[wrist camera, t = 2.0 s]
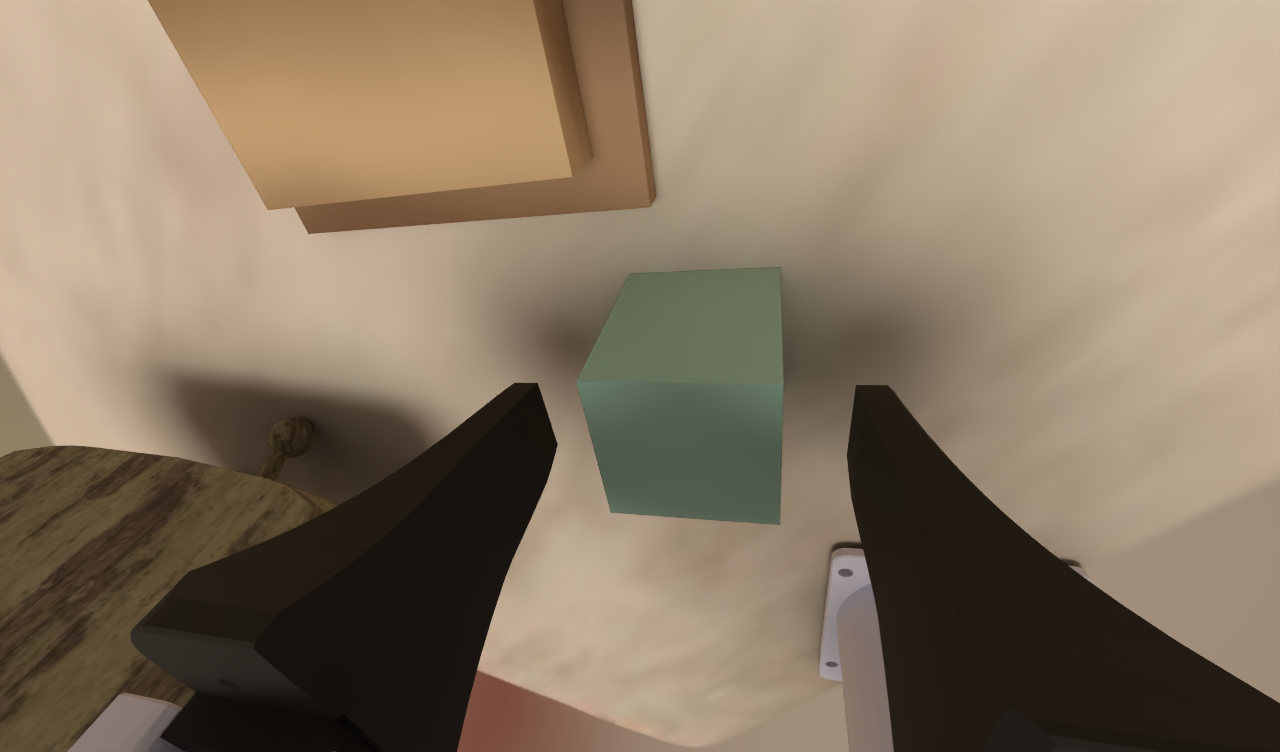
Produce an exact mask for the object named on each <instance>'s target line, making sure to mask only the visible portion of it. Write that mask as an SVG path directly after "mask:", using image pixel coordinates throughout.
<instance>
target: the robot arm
mask: <svg viewBox="0 0 1280 752" xmlns="http://www.w3.org/2000/svg"><path fill="white" fill-rule="evenodd" d="M557 445H558V444H557V441H556V438H555V435H554V432H553V429H552V426H551V423H550V419H549V416H548V413H547V410H546V407H545V404H544V401H543V398H542V395H541V392H540V389H539V386H538V383H514V384H513V385H511V386H510V387H508V388H507V389H506V390H504V391H503V392H502V393H500V394H499V395H498V396H496V397H495V398H494V399H492V400H491V401H490V402H489V403H487V404H486V405H485V406H484V407H482V408H481V409H480V410H479V411H477V412H476V413H475V414H474V415H472V416H471V417H470V418H469V419H467V420H466V421H465V422H463V423H462V424H461V425H460V426H458V427H457V428H456V429H455V430H453V431H452V432H451V433H449V434H448V435H447V436H446V437H444V438H443V439H441V440H440V441H439V442H437V443H436V444H435V445H433V446H432V447H430V448H429V449H428V450H426V451H425V452H424V453H422V454H421V455H419V456H418V457H417V458H415V459H414V460H413V461H411V462H410V463H408V464H407V465H405V466H404V467H402V468H401V469H399V470H398V471H396V472H395V473H393V474H392V475H390V476H388V477H387V478H385V479H384V480H382V481H380V482H379V483H377V484H376V485H374V486H372V487H371V488H369V489H367V490H366V491H364V492H362V493H360V494H359V495H357V496H355V497H353V498H351V499H349V500H348V501H346V502H344V503H342V504H340V505H338V506H336V507H335V508H333V509H331V510H329V511H327V512H325V513H323V514H322V515H320V516H318V517H316V518H314V519H312V520H310V521H308V522H306V523H303V524H301V525H299V526H297V527H295V528H293V529H291V530H289V531H287V532H284V533H282V534H280V535H278V536H276V537H273V538H271V539H269V540H267V541H264V542H262V543H260V544H257V545H255V546H253V547H250V548H248V549H245V550H243V551H240V552H238V553H235V554H233V555H230V556H227V557H225V558H222V559H220V560H217V561H215V562H212V563H210V564H207V565H205V566H202V567H199V568H196V569H194V570H191V571H189V572H188V573H187V574H186V575H185V576H184V577H183V578H182V579H181V580H180V581H179V582H178V583H177V584H176V585H175V586H174V587H173V588H172V589H171V590H170V591H169V592H168V593H167V594H166V595H165V596H164V597H163V598H162V599H161V600H160V601H159V602H158V603H157V604H156V605H155V606H154V607H153V608H152V609H151V610H150V611H149V612H148V613H147V615H146V616H145V617H144V618H143V619H142V620H141V621H140V622H139V623H138V624H137V625H136V626H135V627H134V628H133V629H132V631H131V632H130V638H131V641H132V644H133V645H134V646H135V648H136V649H137V650H138V651H139V652H140V653H141V654H143V655H144V656H145V657H146V658H148V659H149V660H150V661H152V662H153V663H154V664H156V665H157V666H159V667H160V668H162V669H163V670H164V671H166V672H167V673H169V674H170V675H172V676H173V677H175V678H176V679H177V680H179V681H180V682H182V683H183V684H185V685H186V686H188V687H189V688H190V689H192V690H193V691H195V694H194V695H193V696H192V697H191V699H190V700H189V701H188V702H187V704H186V705H185V706H184V707H183V708H182V707H180V706H178V705H175V704H173V703H170V702H167V701H163V700H158V699H154V698H149V697H144V696H139V695H134V694H129V693H124V694H120V695H118V696H117V698H116V699H115V700H114V701H113V702H112V703H111V704H110V705H109V706H108V707H107V709H106V710H105V711H104V712H103V713H102V714H101V715H100V716H99V717H98V718H97V719H96V721H95V722H94V723H93V724H92V725H91V726H90V727H89V728H88V729H87V730H86V732H85V733H84V734H83V735H82V736H81V737H80V738H79V739H78V740H77V741H76V743H75V744H74V745H73V746H72V747H71V748H70V749H69V750H68V751H67V752H457V749H458V744H459V740H460V736H461V732H462V727H463V723H464V719H465V714H466V710H467V706H468V701H469V698H470V694H471V690H472V687H473V683H474V679H475V675H476V671H477V668H478V664H479V660H480V656H481V653H482V650H483V646H484V643H485V640H486V636H487V633H488V630H489V626H490V623H491V620H492V616H493V613H494V610H495V607H496V604H497V601H498V598H499V595H500V592H501V589H502V586H503V583H504V580H505V577H506V574H507V572H508V569H509V567H510V564H511V562H512V559H513V557H514V555H515V553H516V551H517V548H518V546H519V544H520V542H521V539H522V537H523V535H524V533H525V531H526V528H527V526H528V524H529V522H530V519H531V517H532V515H533V513H534V511H535V508H536V506H537V504H538V501H539V499H540V497H541V495H542V492H543V490H544V488H545V485H546V483H547V480H548V477H549V474H550V470H551V467H552V464H553V460H554V456H555V453H556V449H557ZM847 460H848V471H849V481H850V490H851V499H852V503H853V508H854V512H855V516H856V521H857V525H858V530H859V534H860V538H861V543H862V547H863V549H855V548H840V549H837V550H835V551H834V552H833V553H832V555H831V562H830V570H829V578H828V587H827V595H826V603H825V612H824V620H823V628H822V637H821V645H820V653H819V662H818V672H819V675H820V676H821V677H823V678H825V679H829V680H836V681H842V684H843V693H844V703H845V713H846V723H847V732H848V742H849V752H1280V703H1278V702H1277V701H1275V700H1273V699H1272V698H1270V697H1268V696H1267V695H1265V694H1263V693H1262V692H1260V691H1258V690H1257V689H1255V688H1254V687H1252V686H1250V685H1249V684H1247V683H1245V682H1244V681H1242V680H1240V679H1239V678H1237V677H1235V676H1234V675H1232V674H1230V673H1228V672H1227V671H1225V670H1224V669H1222V668H1220V667H1219V666H1217V665H1215V664H1214V663H1212V662H1210V661H1209V660H1207V659H1205V658H1204V657H1202V656H1200V655H1199V654H1197V653H1195V652H1194V651H1192V650H1190V649H1189V648H1187V647H1185V646H1184V645H1182V644H1181V643H1179V642H1178V641H1176V640H1174V639H1173V638H1171V637H1170V636H1168V635H1167V634H1165V633H1164V632H1162V631H1161V630H1159V629H1158V628H1156V627H1155V626H1153V625H1152V624H1150V623H1149V622H1147V621H1146V620H1144V619H1143V618H1141V617H1140V616H1138V615H1137V614H1135V613H1134V612H1132V611H1131V610H1129V609H1127V608H1126V607H1124V606H1123V605H1122V604H1120V603H1119V602H1117V601H1116V600H1114V599H1113V598H1112V597H1110V596H1109V595H1108V594H1106V593H1104V592H1103V591H1102V590H1100V589H1099V588H1098V587H1096V586H1095V585H1094V584H1092V583H1091V581H1090V579H1089V577H1088V575H1087V573H1086V572H1085V570H1083V569H1082V568H1079V567H1075V566H1068V565H1067V564H1065V563H1064V562H1063V561H1061V560H1060V559H1059V558H1057V557H1056V556H1055V555H1053V554H1052V553H1051V552H1050V551H1048V550H1047V549H1046V548H1045V547H1043V546H1042V545H1041V544H1040V543H1038V542H1037V541H1036V540H1035V539H1033V538H1032V537H1031V536H1030V535H1029V534H1027V533H1026V532H1025V531H1024V530H1023V529H1022V528H1020V527H1019V526H1018V525H1017V524H1016V523H1015V522H1013V521H1012V520H1011V519H1010V518H1009V517H1008V516H1007V515H1006V514H1004V513H1003V512H1002V511H1001V510H1000V509H999V508H998V507H997V506H996V505H995V504H994V503H993V502H992V501H990V500H989V499H988V498H987V497H986V496H985V495H984V494H983V493H982V492H981V491H980V490H979V489H978V488H977V487H976V486H975V485H974V484H973V483H972V482H971V481H970V480H969V479H968V478H967V477H966V476H965V475H964V474H963V473H962V472H961V471H960V470H959V469H958V467H957V466H956V465H955V464H954V463H953V462H952V461H951V460H950V459H949V458H948V457H947V455H946V454H945V453H944V452H943V451H942V450H941V449H940V448H939V447H938V445H937V444H936V443H935V442H934V441H933V440H932V439H931V437H930V436H929V435H928V434H927V433H926V432H925V430H924V429H923V428H922V427H921V426H920V424H919V423H918V422H917V421H916V419H915V418H914V417H913V416H912V414H911V413H910V412H909V411H908V409H907V408H906V407H905V406H904V404H903V403H902V402H901V400H900V399H899V398H898V396H897V395H896V394H895V392H894V391H893V390H892V389H891V388H890V387H889V386H888V385H856V389H855V397H854V405H853V413H852V420H851V428H850V436H849V444H848V452H847Z"/></svg>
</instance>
